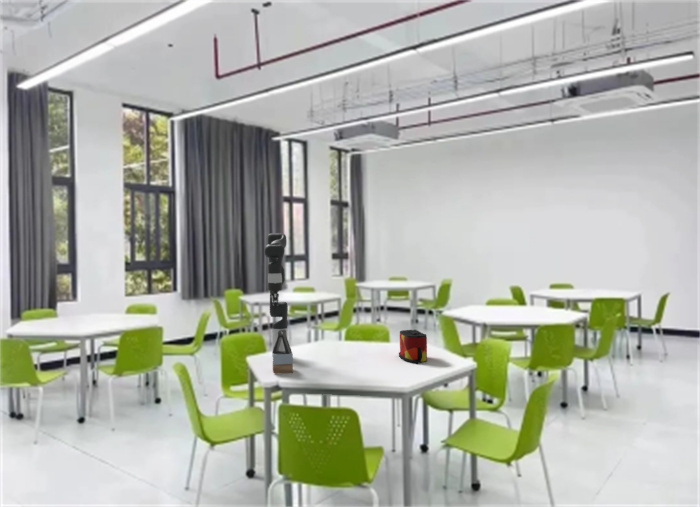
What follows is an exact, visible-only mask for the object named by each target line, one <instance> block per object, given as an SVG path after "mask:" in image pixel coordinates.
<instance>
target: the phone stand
mask: <svg viewBox="0 0 700 507" xmlns="http://www.w3.org/2000/svg"><path fill="white" fill-rule="evenodd" d="M281 331H282V332H283V335H282V333H281ZM281 339H282V340H283V344H284V348H285V351H279V347H280V343H281ZM291 351H292V348H291V345H290V343H289V340H288V339H287V336H286V330H285V329H284V330H283V329H282V330H280V331H279V332H278V338H277V341H276V344H275V346H274V349H273V352H272V353H281V354H289V353H290V352H291Z"/></svg>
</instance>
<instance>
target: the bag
mask: <svg viewBox="0 0 700 507" xmlns="http://www.w3.org/2000/svg"><path fill="white" fill-rule="evenodd" d="M398 357H400V360H402V361H403V362H406V363H410V364H413V365H417V364H422V363H427V361H428V338H427V334H425V333H423V332H421V331H420V330H414V329H405V330H400V331H399V352H398Z"/></svg>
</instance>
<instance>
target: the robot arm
mask: <svg viewBox="0 0 700 507" xmlns="http://www.w3.org/2000/svg"><path fill="white" fill-rule="evenodd" d="M286 247H287V236H286V234H285V233H283V232H282V233H281V232H277V233H274V232H273V233H269V234H268V235H267V244H266V245H265V248H264V255H265V257H266V258H268V262H269V263H268V265H267V271H268V274H267V291H269V315H270V317H272V318H281V319H280V320H278V321H275V322H273V323H272V326H271V327H272V328H271V329H272V330H271V331H272V332H271V334H272V336H271V337H272V338H271V341H272V344H271V345H272V350H271V351H272V352H273V349H274V346H275V344H276V341H277V338H278V332H279V331H280V330H282V329H283V330H284V329H285V330H286V336H287V339H288V336H289V335H288V333H289V332H288V312H289V310H288V308H289V307H288V306H289V305H288V302H286V301H279V297H280V294H279V291H282V290H283V285H284V283H285V280H286V278H285V276H286V274H285V268H284V266H283V265H282V262H283V258H284V254H285V248H286ZM281 333H282V335H283V332H282V331H281ZM279 351H285V348H284V344H283V340H282V339H281V343H280V347H279ZM272 355H273V353H272Z"/></svg>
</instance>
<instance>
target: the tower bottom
mask: <svg viewBox="0 0 700 507" xmlns="http://www.w3.org/2000/svg"><path fill="white" fill-rule="evenodd" d="M293 368H294V363H293V364H275V365H273V364H272V373H281V374H293V373H294V369H293Z"/></svg>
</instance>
